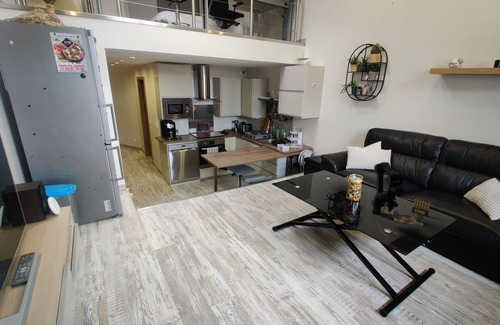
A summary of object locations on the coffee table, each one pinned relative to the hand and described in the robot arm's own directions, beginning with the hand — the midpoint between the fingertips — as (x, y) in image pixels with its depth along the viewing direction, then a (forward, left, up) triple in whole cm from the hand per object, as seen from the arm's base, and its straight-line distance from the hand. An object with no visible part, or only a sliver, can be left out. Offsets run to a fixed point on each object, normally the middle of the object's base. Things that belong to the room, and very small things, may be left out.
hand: (388, 210), depth 174 cm
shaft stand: (-12, +16, -11) cm, 23 cm away
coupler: (0, 0, -1) cm, 1 cm away
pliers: (+10, -4, -12) cm, 16 cm away
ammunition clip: (-28, +28, -11) cm, 41 cm away
